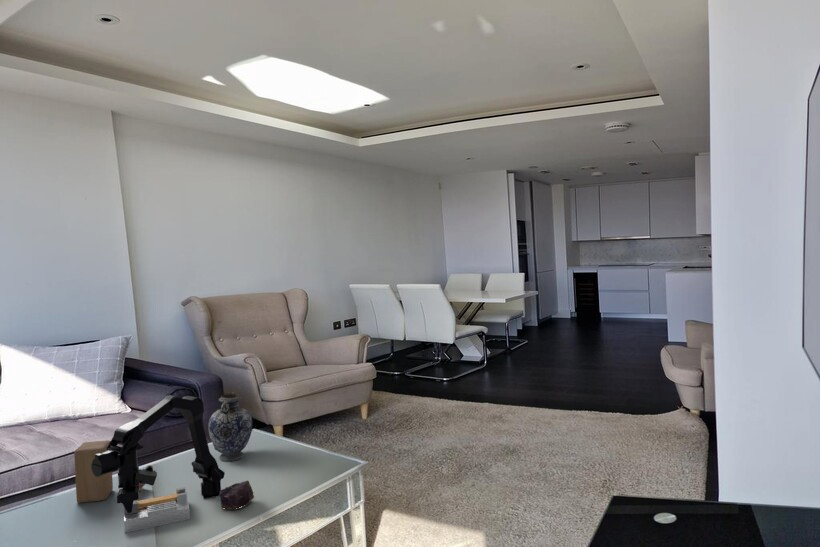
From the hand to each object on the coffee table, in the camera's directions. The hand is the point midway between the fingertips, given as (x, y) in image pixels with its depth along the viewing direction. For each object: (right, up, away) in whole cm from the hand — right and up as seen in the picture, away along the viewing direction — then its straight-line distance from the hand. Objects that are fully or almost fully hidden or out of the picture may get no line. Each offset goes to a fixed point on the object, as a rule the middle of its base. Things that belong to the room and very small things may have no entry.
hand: (129, 512), depth 183 cm
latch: (-3, -3, +8) cm, 9 cm away
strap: (+3, -2, +12) cm, 13 cm away
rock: (+30, -6, +17) cm, 35 cm away
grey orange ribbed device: (+4, -6, +11) cm, 13 cm away
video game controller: (-14, -6, +30) cm, 34 cm away
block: (-27, -7, +28) cm, 40 cm away
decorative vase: (+12, -4, +66) cm, 67 cm away
